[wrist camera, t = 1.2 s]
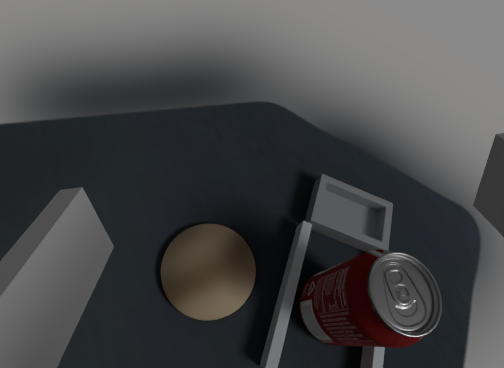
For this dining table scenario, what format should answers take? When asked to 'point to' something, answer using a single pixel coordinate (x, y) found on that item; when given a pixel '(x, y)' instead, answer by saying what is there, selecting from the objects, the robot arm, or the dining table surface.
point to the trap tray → (349, 215)
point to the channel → (281, 315)
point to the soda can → (372, 301)
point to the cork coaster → (208, 272)
